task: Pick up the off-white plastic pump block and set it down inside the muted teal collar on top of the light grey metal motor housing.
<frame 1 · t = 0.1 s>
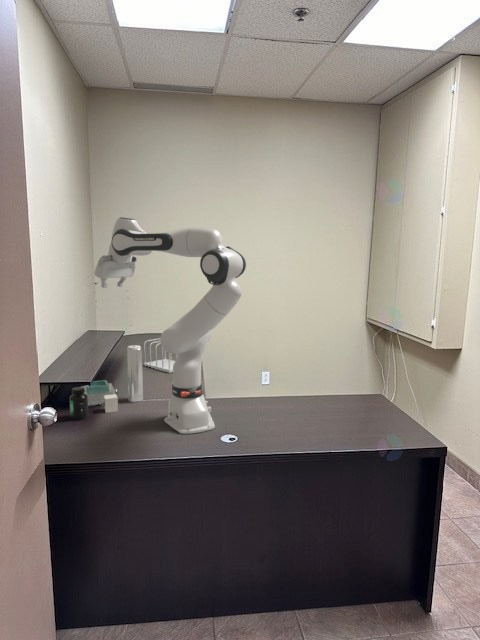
hand: (111, 286, 176), 52 cm above the table, tool tilted 20°, fingers open, 8 cm apart
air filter: (135, 400, 189), on the table
pump block: (111, 410, 176), on the table
motor housing: (97, 399, 189), on the table
file sorter: (167, 367, 249), on the table
supplement bottle: (79, 417, 168), on the table
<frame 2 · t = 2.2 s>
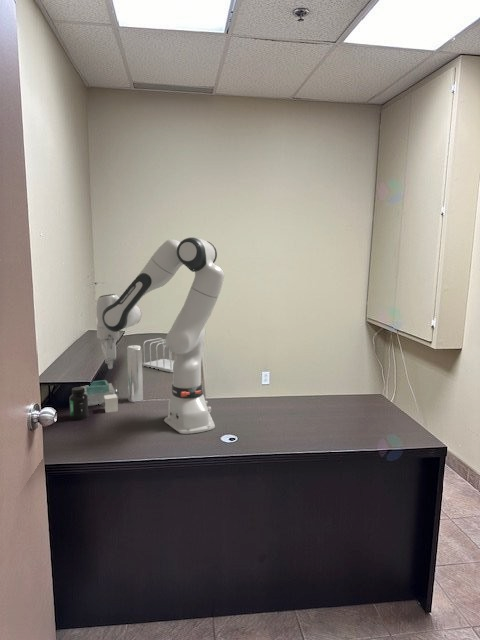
hand: (108, 365, 174), 19 cm above the table, tool pointing down, fingers open, 8 cm apart
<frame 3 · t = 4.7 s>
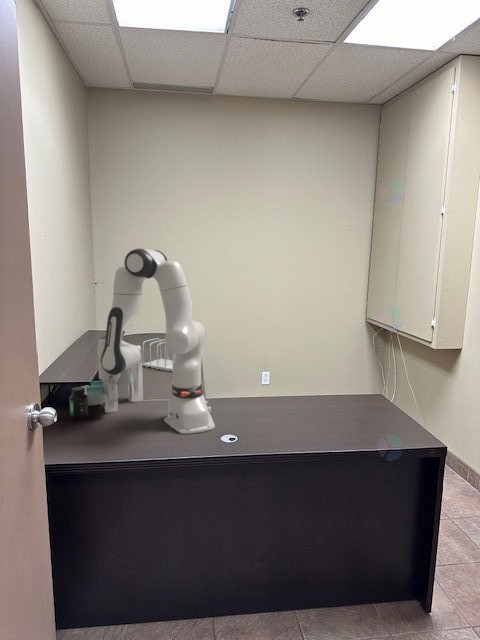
hand: (110, 405, 176), 2 cm above the table, tool pointing down, fingers closed on pump block, 5 cm apart
pump block: (111, 409, 176), on the table, touching gripper
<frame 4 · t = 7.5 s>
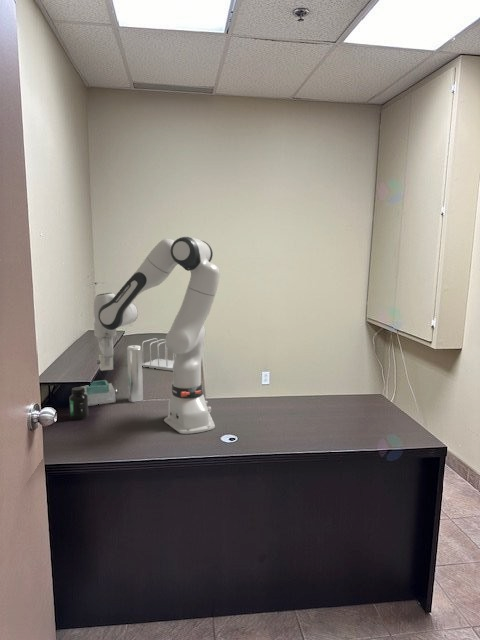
hand: (106, 363, 176), 20 cm above the table, tool pointing down, fingers closed on pump block, 5 cm apart
pump block: (106, 368, 176), point 18 cm above the table, touching gripper
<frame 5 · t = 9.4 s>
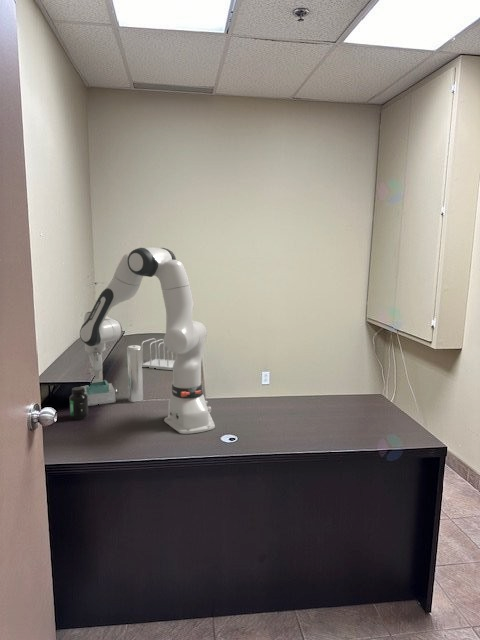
hand: (96, 376, 188), 11 cm above the table, tool pointing down, fingers closed on pump block, 5 cm apart
pump block: (96, 380, 188), point 9 cm above the table, touching gripper
when the fingers open (9 cm above the table, at t = 10.6 s): pump block drops 1 cm, resting on motor housing.
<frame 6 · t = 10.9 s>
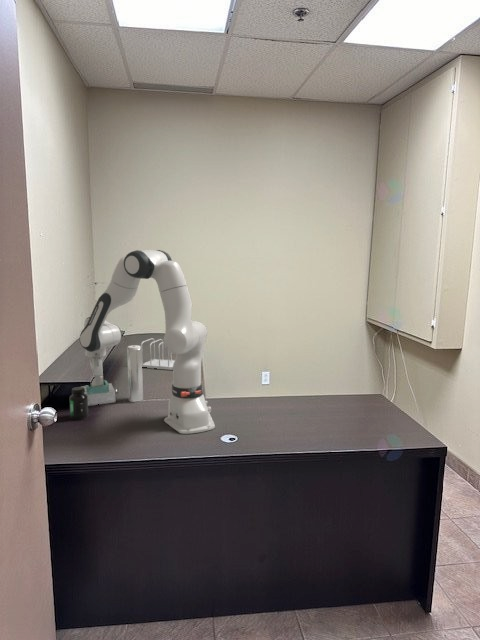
hand: (96, 381, 188), 9 cm above the table, tool pointing down, fingers open, 8 cm apart
pump block: (97, 389, 188), point 5 cm above the table, touching motor housing
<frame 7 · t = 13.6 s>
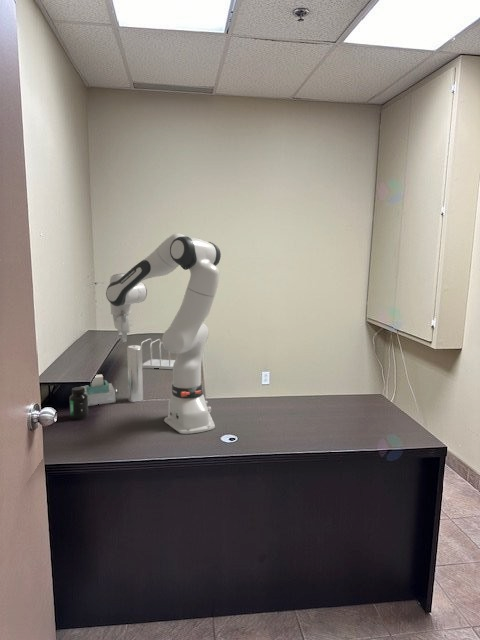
hand: (122, 340, 189), 27 cm above the table, tool pointing down, fingers open, 8 cm apart
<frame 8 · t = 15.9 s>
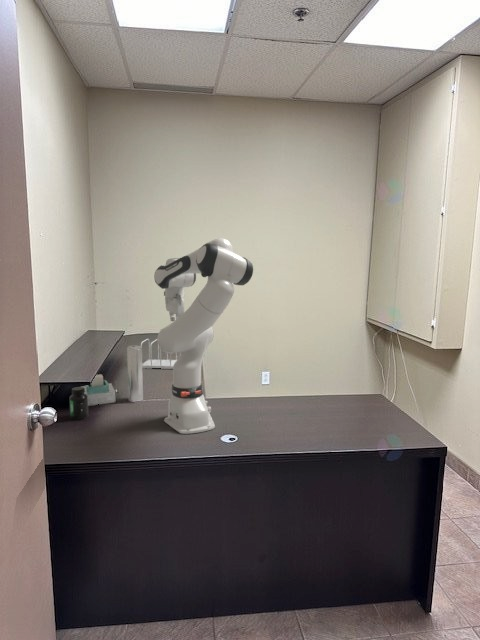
hand: (175, 322, 196), 34 cm above the table, tool pointing down, fingers open, 8 cm apart
at the end: pump block 0.1 cm off-centre on the motor housing, point 5.0 cm above the motor housing's base; pump block tilted 1°; the gripper is holding nothing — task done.
